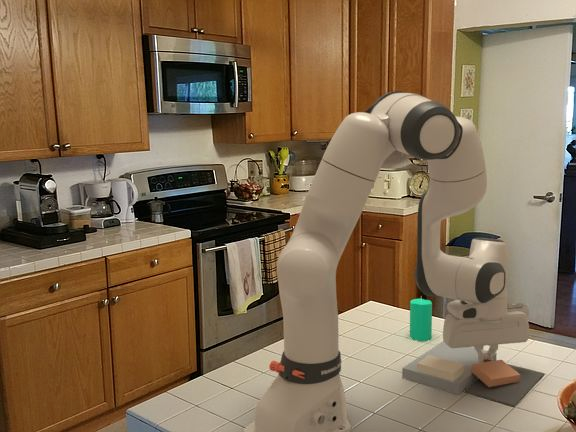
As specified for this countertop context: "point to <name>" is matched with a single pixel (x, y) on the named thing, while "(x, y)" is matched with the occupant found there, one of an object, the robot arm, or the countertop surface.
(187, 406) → the countertop surface
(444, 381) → the platform
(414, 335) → the candle
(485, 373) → the terracotta tile
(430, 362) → the cream tile
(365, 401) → the countertop surface
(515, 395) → the mat
